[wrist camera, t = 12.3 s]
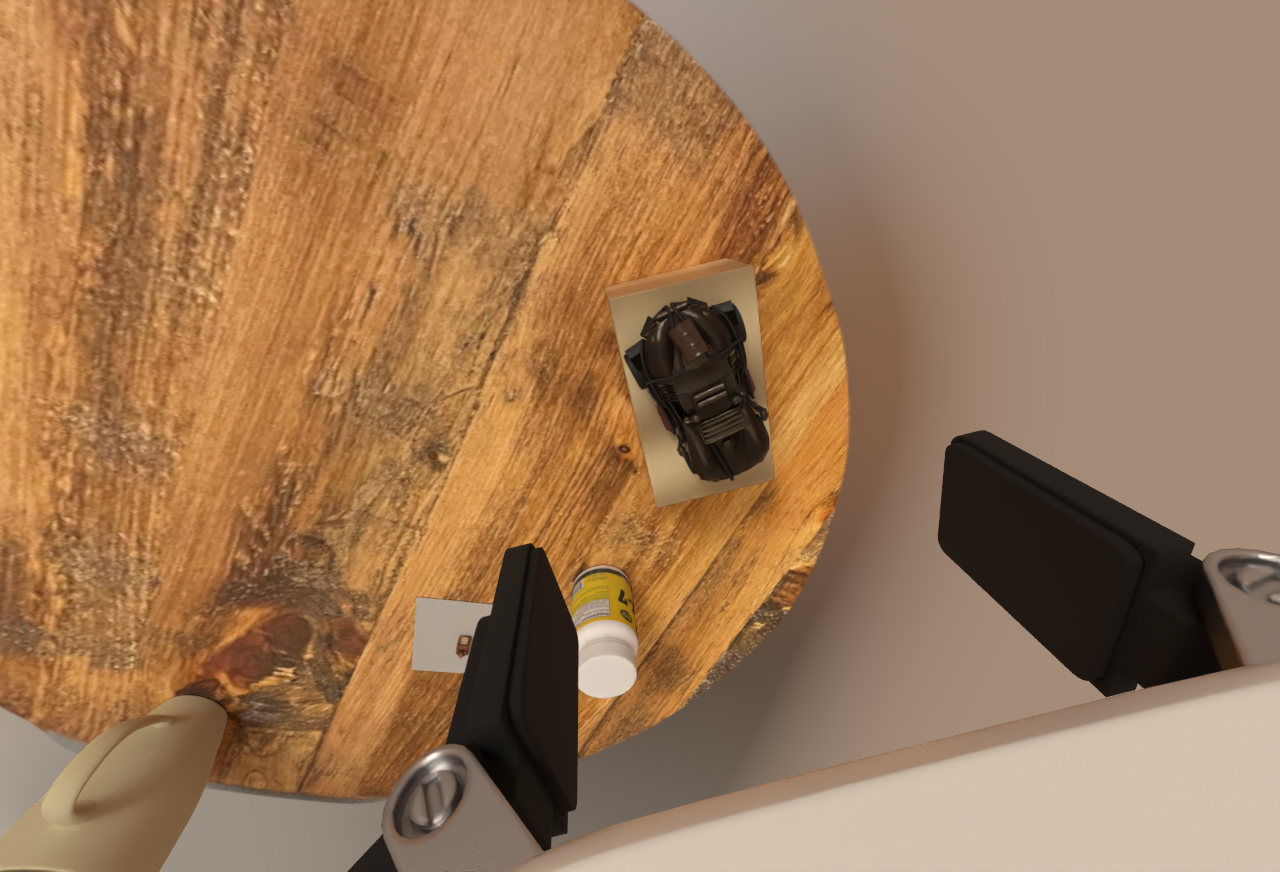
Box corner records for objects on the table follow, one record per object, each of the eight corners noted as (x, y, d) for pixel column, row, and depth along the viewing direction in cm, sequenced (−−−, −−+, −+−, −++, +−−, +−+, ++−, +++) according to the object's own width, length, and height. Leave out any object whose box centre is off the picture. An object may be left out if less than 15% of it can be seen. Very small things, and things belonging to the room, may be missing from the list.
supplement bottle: (637, 599, 38) (650, 692, 31) (583, 615, 39) (583, 711, 31) (621, 555, 36) (631, 643, 29) (563, 572, 36) (558, 664, 29)
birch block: (604, 287, 28) (608, 299, 23) (726, 257, 28) (754, 264, 23) (647, 470, 33) (656, 508, 29) (749, 445, 34) (775, 480, 29)
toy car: (718, 272, 23) (746, 282, 19) (785, 459, 28) (817, 497, 25) (608, 325, 24) (613, 346, 20) (693, 500, 29) (710, 544, 25)
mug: (289, 723, 40) (180, 909, 29) (189, 761, 41) (45, 958, 30) (192, 641, 35) (19, 827, 24) (79, 686, 36) (-138, 887, 25)
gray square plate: (508, 676, 41) (505, 696, 39) (411, 669, 39) (403, 689, 37) (521, 607, 37) (518, 625, 36) (416, 597, 36) (408, 615, 34)
